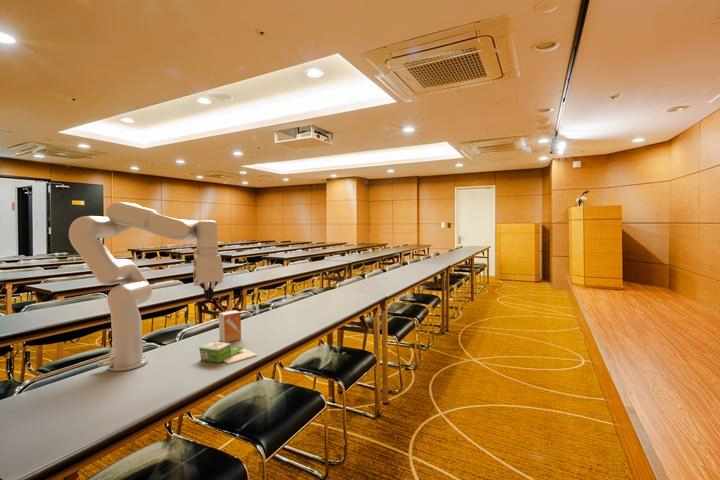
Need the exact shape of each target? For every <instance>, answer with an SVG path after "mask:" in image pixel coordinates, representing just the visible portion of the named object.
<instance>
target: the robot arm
mask: <svg viewBox="0 0 720 480" xmlns="http://www.w3.org/2000/svg"><path fill="white" fill-rule="evenodd" d="M105 215H106V216H101V215H85V216H80V217H77V218H76V219H75V220H74V221H72V223H70V226H69V229H68V239H69V241H70V244H71V245H72V247H73V249H74V250H75V251H76V252H77V253H78V254H79V256H80V257H81V258H82V260H83V262H85V265H87V267H88V268H89V270H90V271H91V273H92V274H93V276H94V277H95V278H96V280H97V281H98V282H99V283H100V284H102V285H103V286H112V285H117V284H118V285H117V286H114V287H113V288H111V290H110V291H109V292H108V294H107V299H106V300H107V301H106V302H107V305H108V308H109V313H110V321H111V324H110V325H111V337H112V338H111V339H112V342H111V343H112V354H111V355H110V357H107V359H102V360H97V367H102V366H103V367H107V366H108V370H110V371H112V372H122V371H123V372H124V371H129V370H133V369H137V368H139V367H143V366H144V365H146V364H147V362H148V357H147V356H144V355H143V335H142V333H143V331H142V316H141V312H140V310H139V307H138V306H139V305H142V304H144V303H146V302H148V301H149V300H150V299H151V298H152V294H153V289H152V286H151V284H150V282H149V281H148V280H147V279H146V277H145V276H144V274H143V273H142V271H141V270H140V268H139V267H138V265H136V263H135V262H133V261H132V260H130V259H128V258H118V259H117V258H115V257H114V255H113V254H112V253H111V251H110V250H109V248H108V247H107V246H106V245H105V244H104V243H102V242H101V241H100V240H99V239H107V238H113V237H117V236H119V235H120V234H122V233H125V232H126V231H127V230H130V229H131V228H133V229H138V230H141V231H145V232H147V233H151V234H152V235H153V234H154V235H156V236H159V237H163V238H167V239H172V240H176V241H183V240H186V241H187V240H189V241H190V240H194V239H196V248H195V249H192V250H193V251H192V253H193V254H196V256H195V257H194V262H193V273H192V274H193V275H192V277H193V279H192V280H193V286H196V287H200V288H201V289H202V290H203V297H204V299H205V300H206V301H210V300H211V301H213V300H214V299H213V298H214V289H215V288H216V287H217V285H219V284H222V283H223V282H224V281H223V279H224V265H223V261H222V257H221V255H220V254H219V241H218V239H219V238H218V232H219V231H218V223H217V221H215V220H211V219H209V220H207V219H205V220H204V219H203V220H202V219H201V220H191V219H190V220H189V219H179V218H174V217H169V216H165V215H162V214H159V213H158V212H157V211H156V210H155V209H152V208H148V207H142V206H141V205H139V204H137V203H132V202H124V201H116V202H112V203H110V205H108V206H107V208H106V210H105Z"/></svg>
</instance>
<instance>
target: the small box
mask: <svg viewBox="0 0 720 480" xmlns="http://www.w3.org/2000/svg"><path fill="white" fill-rule="evenodd" d="M241 314H242V313H241V312H240V311H239V310H235V309H234V310H229V311H223V312H219V313H218V333H219V334H218V336H219V342H223V343H230V342H235V341H239V340H240V341H241V340H242V324H241V323H242V321H241V319H242V318H241V316H242V315H241Z"/></svg>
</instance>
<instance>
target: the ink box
mask: <svg viewBox="0 0 720 480" xmlns="http://www.w3.org/2000/svg"><path fill="white" fill-rule="evenodd" d="M235 348H237V349H235ZM243 348H244V349H245V347H242V346H236V345H232V343H230V342H227V343H224V342H222V341H214V340H212V341H211V342H208V343H207V344H204V345H203V346H201V347H199V348H198V349H199V354H200V360H201V361H202V362H203V361H205V362H211V363H217V364H218V363H221V362H223V360H225V359H226V358H228V357H230V356H232V355H233V354H235V353H237V352H239V351H240V350H242V349H243ZM233 349H235V350H233Z"/></svg>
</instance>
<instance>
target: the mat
mask: <svg viewBox="0 0 720 480" xmlns="http://www.w3.org/2000/svg"><path fill="white" fill-rule="evenodd" d="M232 349H233V350H235V349H237V348H232ZM257 356H258V354H256V353H255V352H252V351H250V350H248V349H246V348H245V347H244V348H243V349H242V350H240V351H239V352H237V353H235V354H233V355H232V356H230V357H228V358H226V359H225V360H223V361H222V362H223V363H225V364H227V365H231V364H234V363H237V362H241V361H244V360H248V359H251V358H254V357H257Z"/></svg>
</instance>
